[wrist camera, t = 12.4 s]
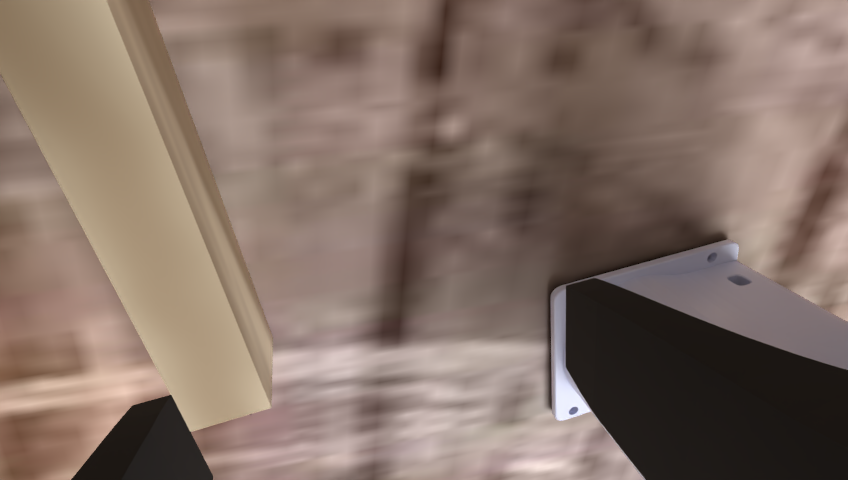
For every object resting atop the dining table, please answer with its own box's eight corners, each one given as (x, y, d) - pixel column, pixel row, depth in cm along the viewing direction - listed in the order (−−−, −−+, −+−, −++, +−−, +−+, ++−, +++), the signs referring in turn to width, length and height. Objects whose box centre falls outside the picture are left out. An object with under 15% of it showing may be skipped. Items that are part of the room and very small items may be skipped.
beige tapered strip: (80, -191, 12) (-6, -277, 8) (272, 334, 19) (271, 407, 15) (-36, -180, 11) (-181, -267, 8) (207, 352, 19) (190, 431, 15)
